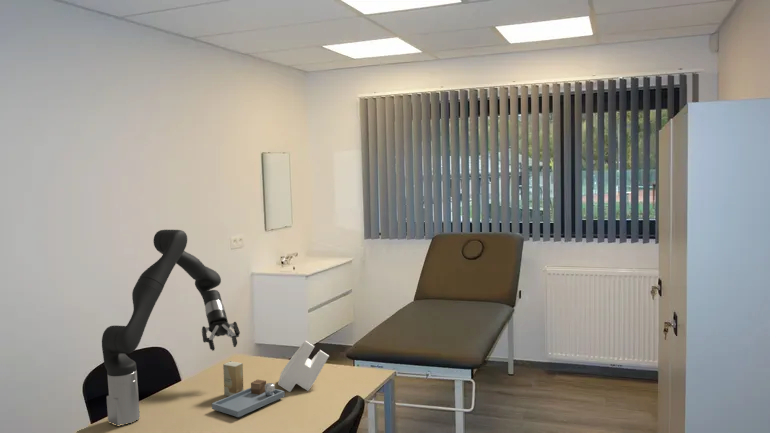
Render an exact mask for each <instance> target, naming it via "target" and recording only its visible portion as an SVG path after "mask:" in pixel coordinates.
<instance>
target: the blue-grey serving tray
mask: <svg viewBox="0 0 770 433" xmlns="http://www.w3.org/2000/svg"><path fill="white" fill-rule="evenodd" d="M284 397H286V393H285V391H284V390H282V389H277V388H275V394H274V395H272V396H270V397H266V396H265V392H264V393H262V394H260V395H258V394H252V393H251V387H248V388H246V389H243V391H241V392H238V393H236V394H234V395H231V396H227V397H224V398H222V399H219V400H216V401H214V402H212V403H211V410H214V411H216V412H218V413H223V414H227V415H230V416H234V417H235V418H236V419H241V418H243V416H244V415H247V414H249V413H251V412H253V411H255V410H257V409H260V408H261V407H264V406H267V405H268V404H269V405H270V404H271V403H273V402H279V401H280V400H281V399H283V398H284Z"/></svg>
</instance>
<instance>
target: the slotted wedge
mask: <svg viewBox="0 0 770 433" xmlns="http://www.w3.org/2000/svg"><path fill="white" fill-rule="evenodd" d="M314 348H315V345H313V344H312V343H310V342H309V341H307V340H304V342H302V344H301V345H300V346H299V348H298V349H297V350H296V351H295V353H293V355H292V357H291V358H290V359H289V360H288V361H287V363H286V365H285V366H284V368H283V369H282V371H281V372H280V375H279V378H278V383H277V386H280V387H281V388H283V389H284V390H286V391H287V392H289V393H290V392H291V391H292V390H293V389H294V387H295V385H298V386H300V387H301V388H302V389H304V390H306V392H307V391H310V389H311V388H312V387H313V385H314V383H315V382H316V380H317V378H318V376H319V374H320V373H321V371H322V369H323V367H324V366H325V364H326V363H327V361H328V359H329V358H330V355H329V354H327V353H326V352H324V351H323V350H321V349H319V351H318V352H317V353H316V354H315V355H314V356H313V358H311V359H310V355H311V353H312V351H313V350H314Z"/></svg>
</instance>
